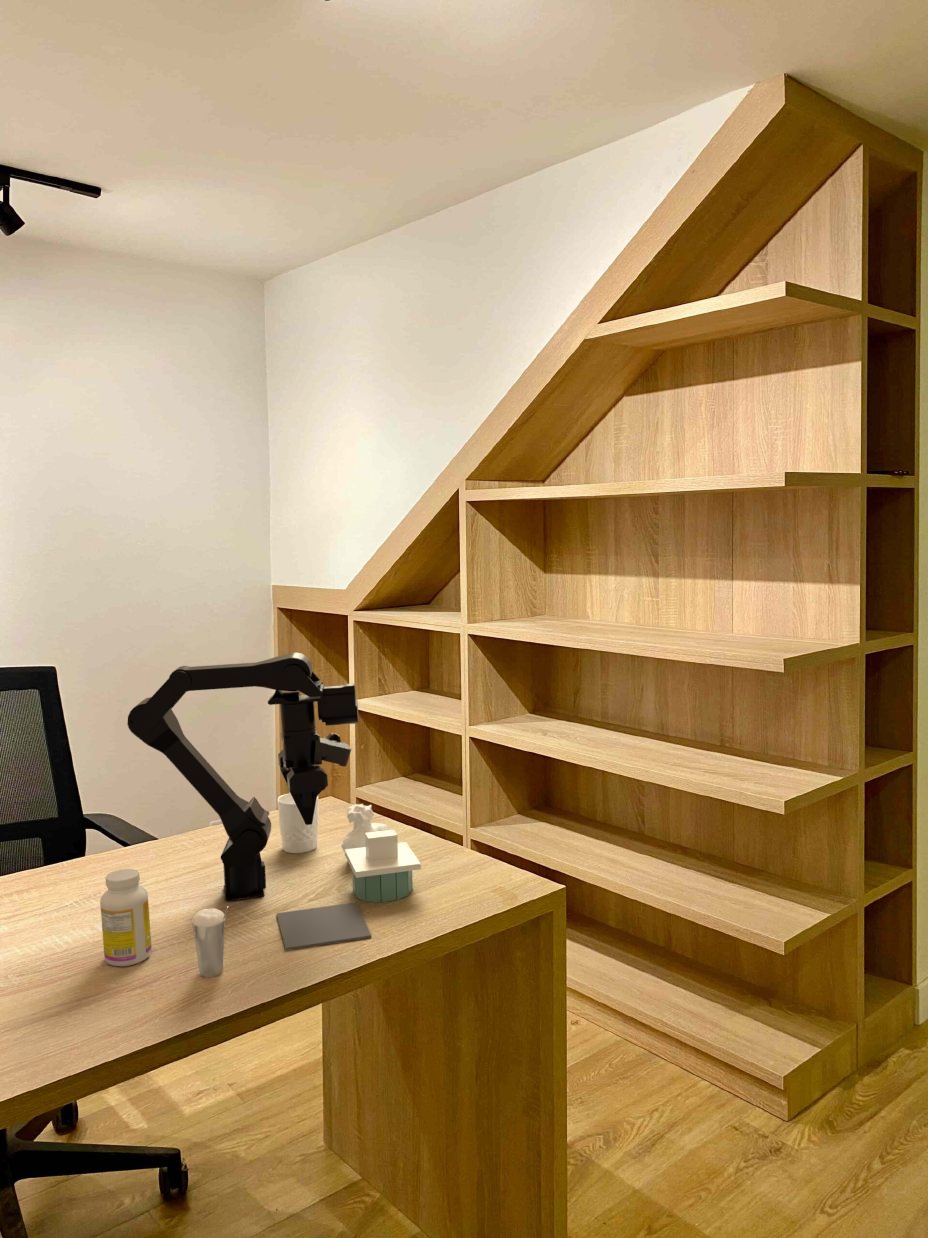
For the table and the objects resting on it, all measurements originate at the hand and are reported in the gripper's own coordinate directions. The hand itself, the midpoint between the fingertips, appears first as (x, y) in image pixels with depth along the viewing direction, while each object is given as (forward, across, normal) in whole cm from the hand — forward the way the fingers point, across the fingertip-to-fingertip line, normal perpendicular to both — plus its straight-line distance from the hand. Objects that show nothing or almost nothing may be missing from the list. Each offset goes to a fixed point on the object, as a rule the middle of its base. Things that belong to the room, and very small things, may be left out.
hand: (305, 816), depth 163 cm
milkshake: (+13, -26, +17) cm, 34 cm away
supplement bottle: (+12, -17, +29) cm, 36 cm away
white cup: (+13, +21, -1) cm, 25 cm away
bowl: (+13, -5, -12) cm, 18 cm away
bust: (+14, +11, -12) cm, 21 cm away
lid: (+8, -5, -12) cm, 15 cm away
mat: (+13, -16, 0) cm, 20 cm away
